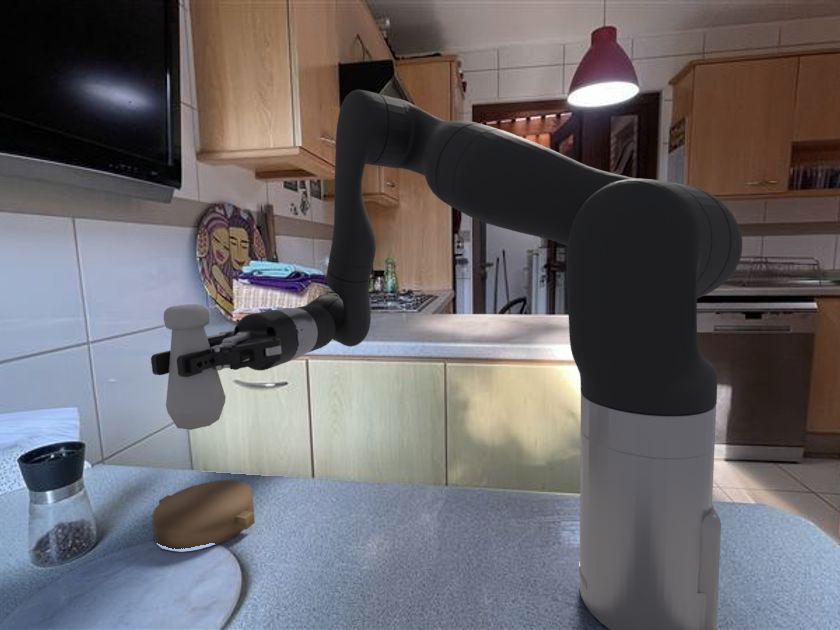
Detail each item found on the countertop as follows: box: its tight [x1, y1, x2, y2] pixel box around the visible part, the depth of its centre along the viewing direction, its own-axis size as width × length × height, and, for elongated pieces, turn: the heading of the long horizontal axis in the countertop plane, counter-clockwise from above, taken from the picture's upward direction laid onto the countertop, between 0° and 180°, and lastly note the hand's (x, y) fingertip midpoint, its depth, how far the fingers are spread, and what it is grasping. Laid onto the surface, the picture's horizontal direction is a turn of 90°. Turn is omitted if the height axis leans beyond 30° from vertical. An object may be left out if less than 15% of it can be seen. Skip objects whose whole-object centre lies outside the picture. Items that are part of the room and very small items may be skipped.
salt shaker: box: [163, 303, 226, 431], centre depth 47 cm, size 6×6×13 cm
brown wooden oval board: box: [151, 479, 256, 549], centre depth 49 cm, size 13×10×2 cm
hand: (167, 366), depth 44 cm, fingers closed on salt shaker, 3 cm apart
